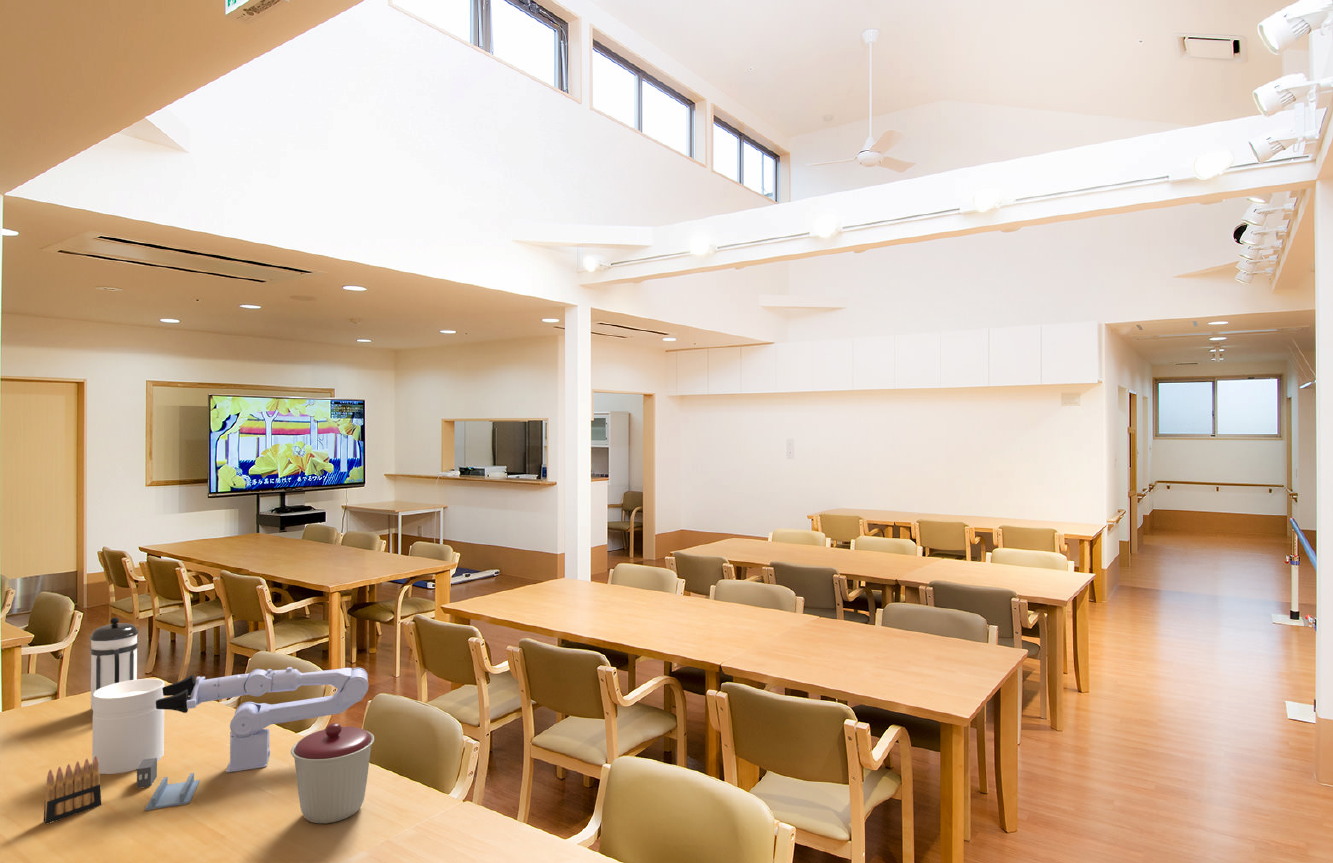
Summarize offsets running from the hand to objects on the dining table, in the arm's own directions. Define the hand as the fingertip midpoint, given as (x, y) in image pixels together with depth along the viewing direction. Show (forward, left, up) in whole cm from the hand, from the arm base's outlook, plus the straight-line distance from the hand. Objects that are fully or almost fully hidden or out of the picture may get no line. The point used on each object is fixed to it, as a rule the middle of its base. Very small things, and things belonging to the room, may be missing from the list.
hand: (159, 698), depth 193 cm
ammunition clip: (+14, +14, -21) cm, 29 cm away
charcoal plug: (+2, +2, -21) cm, 21 cm away
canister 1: (+10, -15, -21) cm, 28 cm away
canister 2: (-43, +37, -21) cm, 60 cm away
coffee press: (+25, -62, -21) cm, 70 cm away
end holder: (-6, +13, -21) cm, 25 cm away
